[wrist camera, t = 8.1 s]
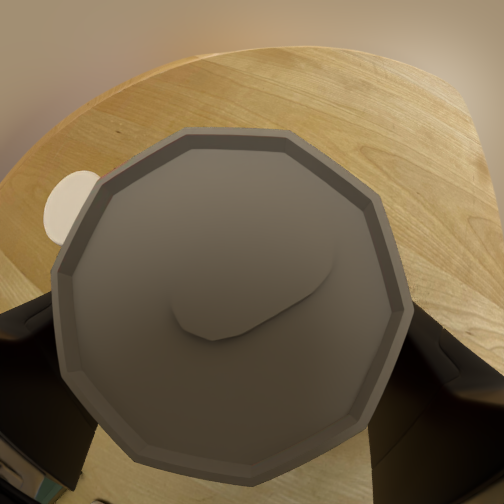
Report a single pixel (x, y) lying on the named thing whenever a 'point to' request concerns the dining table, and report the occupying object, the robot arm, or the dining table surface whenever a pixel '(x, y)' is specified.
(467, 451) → the robot arm
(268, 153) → the beverage can
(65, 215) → the pill bottle
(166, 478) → the dining table surface
